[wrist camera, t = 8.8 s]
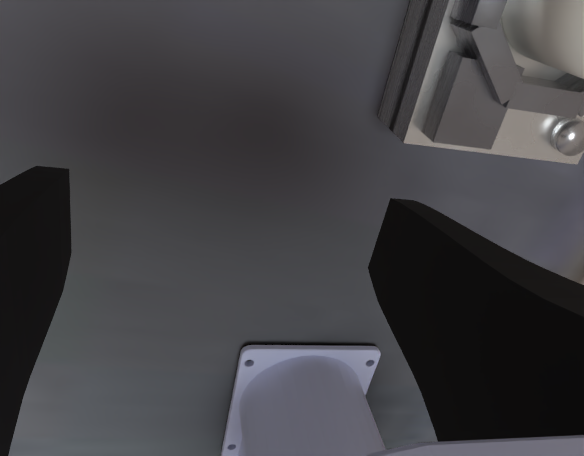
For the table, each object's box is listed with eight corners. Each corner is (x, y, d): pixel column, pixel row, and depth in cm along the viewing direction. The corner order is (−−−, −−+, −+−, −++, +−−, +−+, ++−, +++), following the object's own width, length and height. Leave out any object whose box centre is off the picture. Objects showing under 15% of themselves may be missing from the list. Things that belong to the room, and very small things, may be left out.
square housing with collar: (534, 137, 24) (602, 180, 20) (377, 116, 21) (419, 159, 18) (649, -116, 19) (768, -124, 15) (460, -176, 17) (542, -201, 13)
